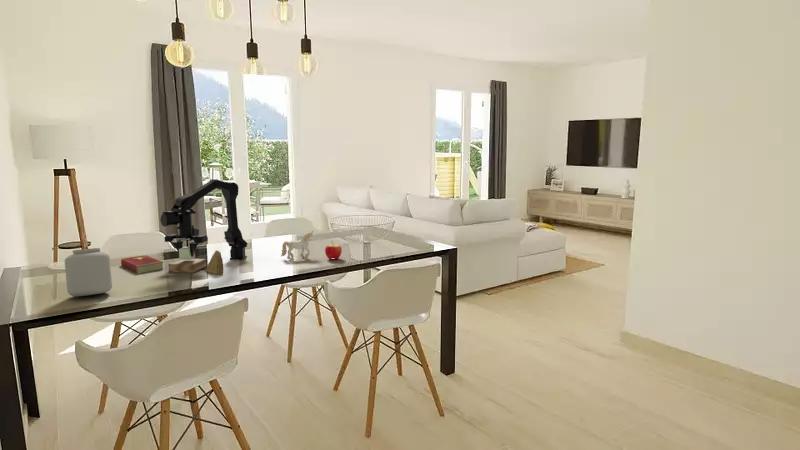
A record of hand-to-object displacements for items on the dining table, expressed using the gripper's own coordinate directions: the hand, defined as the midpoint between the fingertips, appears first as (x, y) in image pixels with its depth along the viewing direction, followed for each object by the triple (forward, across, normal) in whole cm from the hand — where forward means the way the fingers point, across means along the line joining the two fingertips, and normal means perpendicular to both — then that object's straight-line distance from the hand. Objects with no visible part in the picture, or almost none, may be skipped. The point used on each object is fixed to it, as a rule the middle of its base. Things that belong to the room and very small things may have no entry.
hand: (187, 256), depth 233 cm
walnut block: (+6, 0, 0) cm, 6 cm away
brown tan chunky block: (+6, -16, +5) cm, 18 cm away
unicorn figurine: (+6, -44, -31) cm, 54 cm away
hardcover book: (+7, +23, +1) cm, 24 cm away
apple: (+6, -63, -30) cm, 70 cm away
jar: (+6, +15, +44) cm, 47 cm away
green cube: (+1, 0, 0) cm, 1 cm away
